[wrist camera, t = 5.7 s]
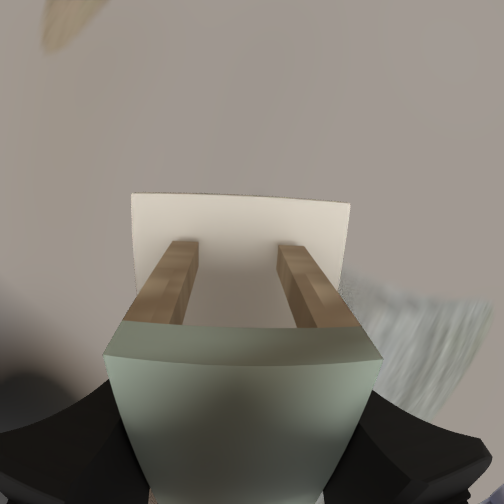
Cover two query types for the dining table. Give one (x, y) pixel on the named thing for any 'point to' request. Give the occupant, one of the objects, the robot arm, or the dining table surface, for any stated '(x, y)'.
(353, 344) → the board with wooden rails
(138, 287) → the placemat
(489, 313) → the dining table surface
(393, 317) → the dining table surface
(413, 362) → the dining table surface
